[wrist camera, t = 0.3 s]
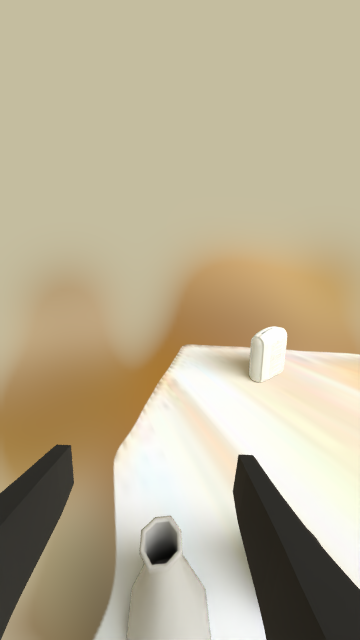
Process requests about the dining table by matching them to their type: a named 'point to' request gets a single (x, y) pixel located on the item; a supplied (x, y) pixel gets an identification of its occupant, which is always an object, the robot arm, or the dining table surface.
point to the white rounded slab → (267, 353)
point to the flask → (166, 589)
